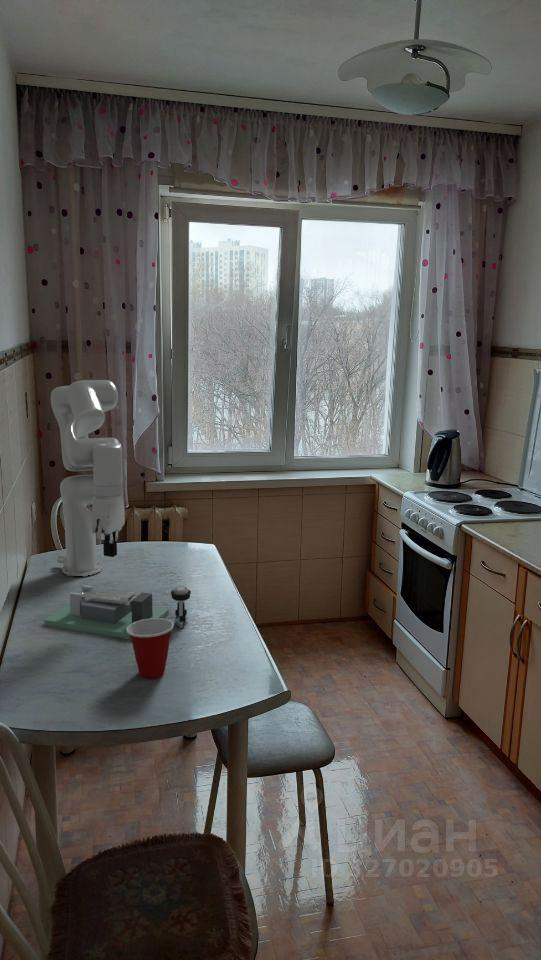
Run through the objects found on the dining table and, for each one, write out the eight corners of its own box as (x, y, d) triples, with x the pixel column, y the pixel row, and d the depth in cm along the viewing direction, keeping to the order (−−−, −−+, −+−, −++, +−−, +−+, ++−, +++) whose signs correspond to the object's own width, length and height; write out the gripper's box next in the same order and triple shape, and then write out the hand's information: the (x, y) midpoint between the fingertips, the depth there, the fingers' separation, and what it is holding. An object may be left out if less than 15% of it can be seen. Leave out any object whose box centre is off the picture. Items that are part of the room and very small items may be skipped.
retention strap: (75, 599, 192) (74, 592, 191) (84, 594, 196) (83, 586, 195) (129, 606, 187) (129, 598, 186) (137, 600, 191) (137, 592, 190)
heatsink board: (44, 624, 188) (42, 596, 186) (81, 600, 205) (80, 574, 203) (137, 640, 180) (137, 611, 178) (169, 614, 197) (168, 587, 195)
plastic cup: (153, 657, 171) (152, 611, 168) (184, 671, 164) (183, 624, 162) (117, 674, 163) (116, 625, 160) (148, 689, 156) (147, 639, 153)
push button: (190, 629, 187) (190, 593, 185) (170, 629, 187) (170, 594, 184) (190, 619, 194) (190, 584, 191) (171, 619, 193) (171, 585, 191)
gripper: (110, 482, 194) (112, 545, 198) (80, 495, 180) (82, 562, 184) (135, 485, 192) (136, 548, 196) (106, 498, 178) (108, 566, 182)
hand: (110, 555), depth 190 cm, fingers closed
